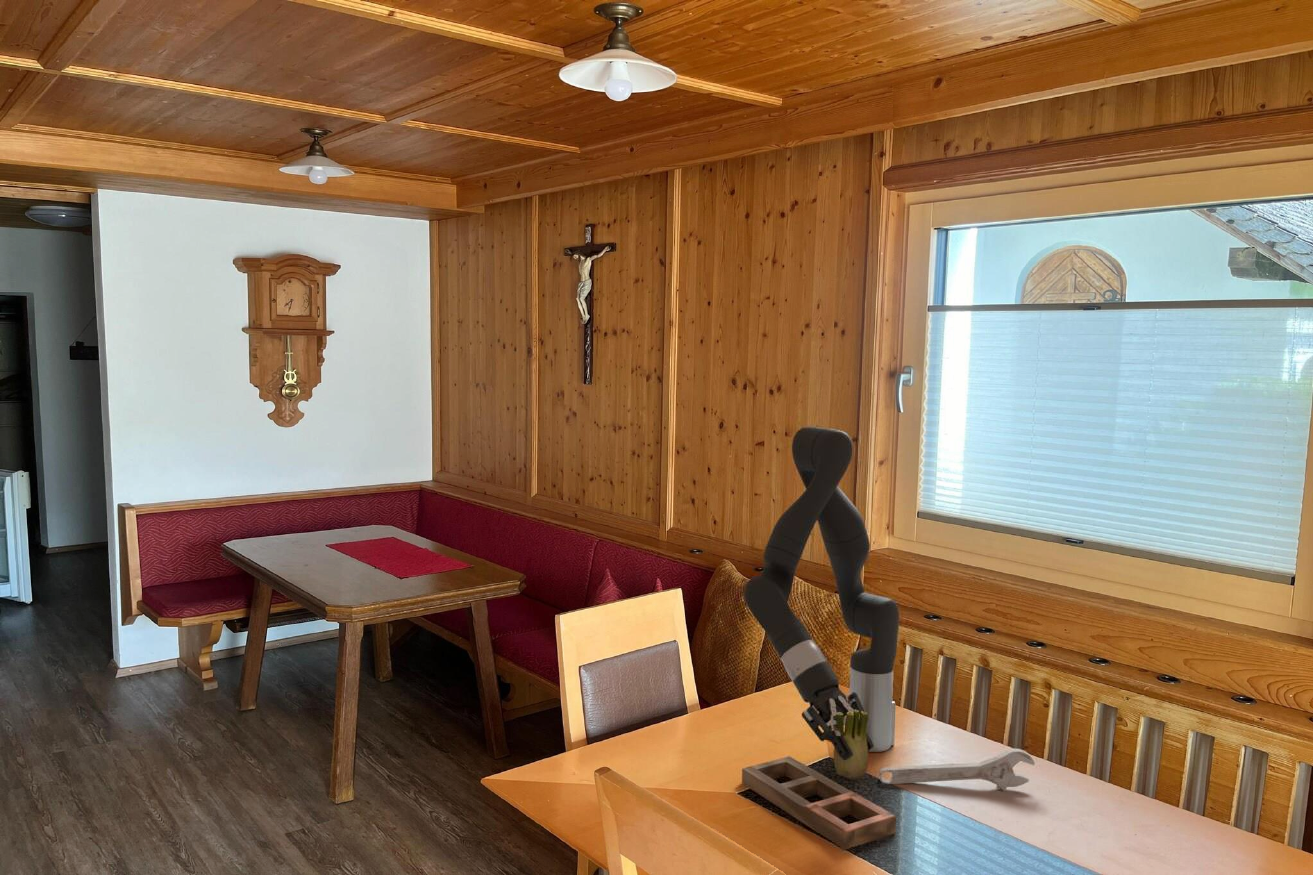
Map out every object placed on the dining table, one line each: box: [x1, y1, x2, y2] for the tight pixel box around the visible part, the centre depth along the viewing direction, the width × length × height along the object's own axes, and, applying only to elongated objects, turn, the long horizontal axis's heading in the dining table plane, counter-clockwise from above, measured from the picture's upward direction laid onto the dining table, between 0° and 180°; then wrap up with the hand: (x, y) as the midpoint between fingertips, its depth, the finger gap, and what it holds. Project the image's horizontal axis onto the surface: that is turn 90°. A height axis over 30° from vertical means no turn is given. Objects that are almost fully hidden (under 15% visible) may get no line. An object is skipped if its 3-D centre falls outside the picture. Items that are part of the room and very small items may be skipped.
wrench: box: [878, 748, 1036, 792], centre depth 188 cm, size 8×2×30 cm
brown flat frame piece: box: [741, 755, 897, 850], centre depth 179 cm, size 12×30×3 cm, turn 31°
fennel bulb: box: [833, 710, 869, 780], centre depth 169 cm, size 6×5×12 cm
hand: (859, 753), depth 168 cm, fingers closed on fennel bulb, 5 cm apart
